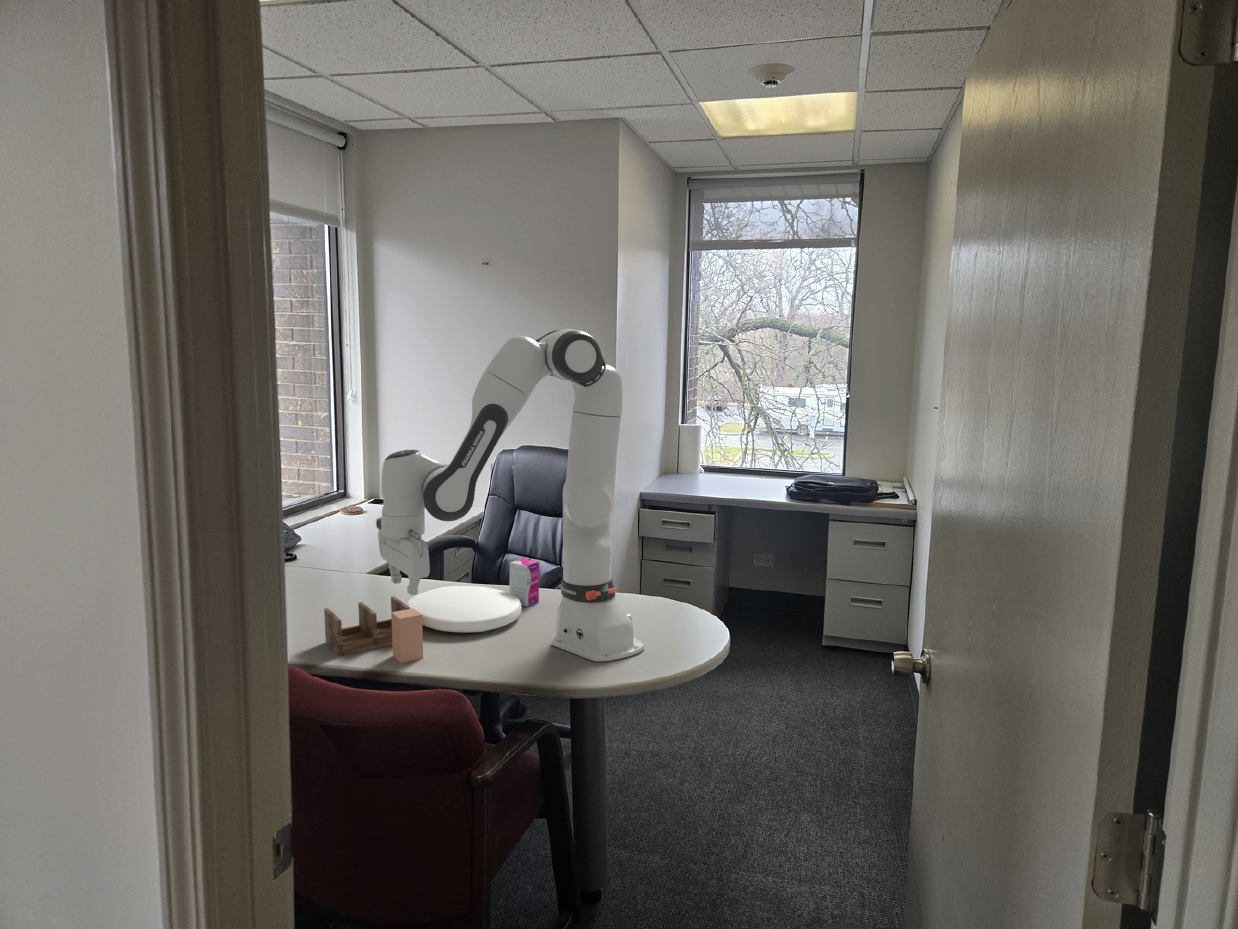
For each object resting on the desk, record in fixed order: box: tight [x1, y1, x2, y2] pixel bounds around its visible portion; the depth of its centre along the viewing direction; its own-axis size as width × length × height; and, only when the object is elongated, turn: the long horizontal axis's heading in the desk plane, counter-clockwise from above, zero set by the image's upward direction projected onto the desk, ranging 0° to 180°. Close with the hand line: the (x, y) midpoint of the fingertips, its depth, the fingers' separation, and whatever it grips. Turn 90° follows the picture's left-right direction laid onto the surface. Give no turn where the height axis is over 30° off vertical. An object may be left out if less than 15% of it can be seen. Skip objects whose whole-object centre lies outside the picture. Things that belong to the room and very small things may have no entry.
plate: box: [406, 585, 522, 633], centre depth 204 cm, size 28×6×27 cm
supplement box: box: [508, 557, 540, 609], centre depth 215 cm, size 6×6×12 cm
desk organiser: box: [323, 595, 410, 657], centre depth 187 cm, size 10×16×8 cm, turn 126°
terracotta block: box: [390, 608, 424, 664], centre depth 178 cm, size 5×5×10 cm
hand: (404, 588), depth 177 cm, fingers open, 8 cm apart
